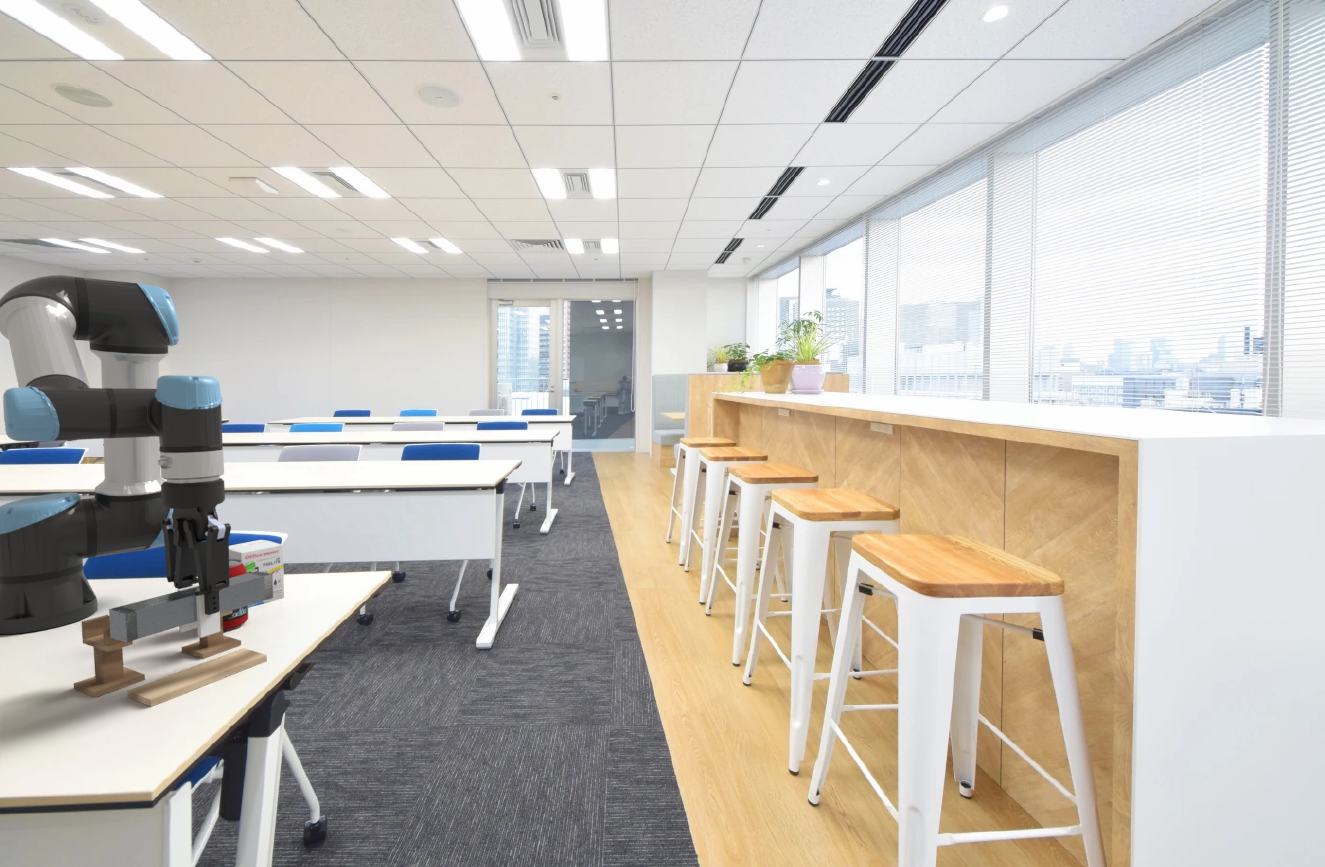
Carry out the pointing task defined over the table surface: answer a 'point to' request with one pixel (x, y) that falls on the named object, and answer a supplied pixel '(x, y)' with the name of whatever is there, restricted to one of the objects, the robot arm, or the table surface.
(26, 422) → the robot arm
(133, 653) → the table surface
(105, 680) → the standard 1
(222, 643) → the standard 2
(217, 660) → the light wooden board
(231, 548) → the ink box
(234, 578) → the rail
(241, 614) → the beverage can
